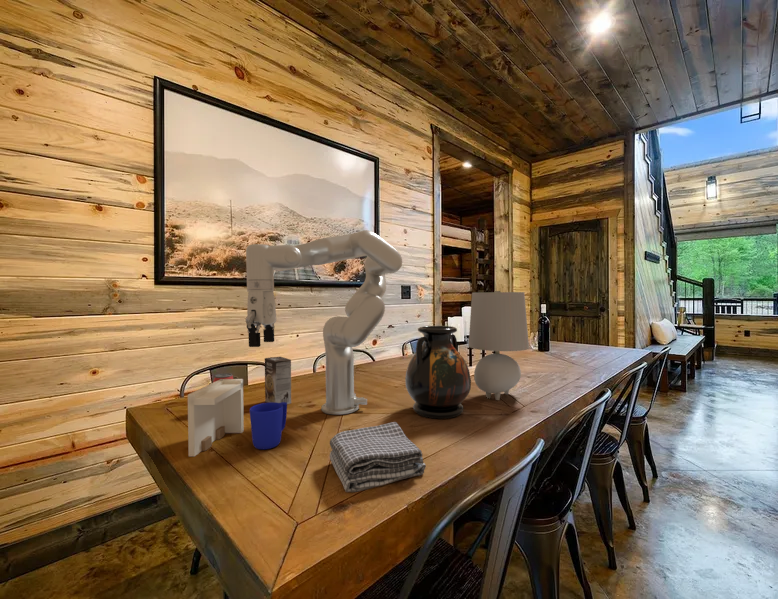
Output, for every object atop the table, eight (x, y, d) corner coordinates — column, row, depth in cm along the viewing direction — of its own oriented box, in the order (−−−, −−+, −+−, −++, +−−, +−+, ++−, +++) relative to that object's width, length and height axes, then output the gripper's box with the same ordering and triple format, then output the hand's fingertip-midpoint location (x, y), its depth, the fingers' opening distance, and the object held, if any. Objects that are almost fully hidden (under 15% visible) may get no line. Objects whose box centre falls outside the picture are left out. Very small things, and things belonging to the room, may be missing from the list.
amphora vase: (442, 429, 100) (441, 331, 100) (392, 411, 117) (391, 327, 116) (484, 412, 115) (483, 327, 114) (435, 398, 131) (434, 323, 131)
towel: (327, 464, 81) (327, 430, 81) (399, 449, 88) (399, 418, 88) (345, 498, 67) (345, 458, 67) (429, 478, 74) (429, 441, 74)
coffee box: (264, 401, 129) (263, 358, 128) (280, 398, 133) (280, 355, 133) (275, 407, 122) (274, 361, 122) (292, 403, 126) (291, 358, 126)
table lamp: (490, 386, 147) (489, 291, 147) (541, 396, 131) (540, 290, 131) (457, 397, 132) (456, 291, 131) (510, 410, 116) (509, 290, 115)
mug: (298, 435, 97) (297, 399, 97) (270, 454, 85) (269, 413, 85) (273, 432, 99) (273, 397, 99) (242, 449, 88) (242, 410, 88)
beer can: (238, 407, 123) (237, 372, 122) (227, 413, 116) (227, 377, 116) (220, 406, 123) (220, 372, 123) (209, 412, 117) (208, 377, 117)
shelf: (243, 430, 100) (242, 378, 100) (215, 456, 84) (214, 394, 84) (221, 430, 100) (220, 379, 100) (188, 456, 84) (187, 394, 84)
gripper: (260, 285, 94) (261, 348, 95) (283, 286, 112) (285, 340, 112) (233, 286, 95) (235, 349, 95) (261, 287, 112) (262, 340, 112)
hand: (262, 344), depth 104 cm, fingers open, 9 cm apart
